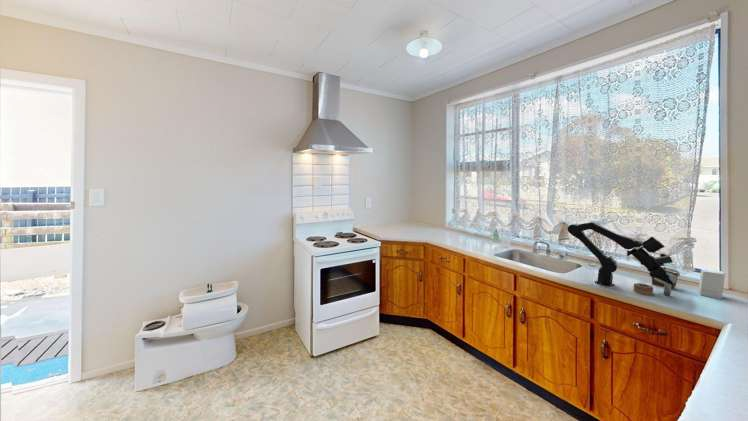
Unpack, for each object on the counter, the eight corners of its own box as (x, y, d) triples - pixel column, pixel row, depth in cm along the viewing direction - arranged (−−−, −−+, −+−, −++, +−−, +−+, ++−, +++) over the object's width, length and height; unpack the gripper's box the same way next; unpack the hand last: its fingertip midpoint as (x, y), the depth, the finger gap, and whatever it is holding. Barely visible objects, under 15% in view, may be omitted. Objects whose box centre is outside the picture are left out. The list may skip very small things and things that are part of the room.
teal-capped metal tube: (667, 296, 146) (670, 275, 145) (662, 294, 148) (664, 273, 147) (671, 296, 146) (673, 274, 145) (666, 294, 149) (668, 273, 148)
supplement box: (722, 299, 143) (725, 274, 142) (700, 295, 148) (702, 271, 147) (719, 295, 148) (722, 271, 147) (698, 291, 154) (700, 268, 152)
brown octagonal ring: (644, 294, 148) (645, 288, 148) (630, 289, 155) (630, 283, 154) (655, 294, 149) (656, 287, 149) (641, 289, 156) (641, 282, 156)
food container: (683, 289, 156) (685, 271, 155) (677, 291, 154) (679, 272, 153) (654, 282, 167) (656, 265, 167) (648, 283, 165) (650, 266, 164)
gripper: (661, 252, 141) (692, 279, 135) (659, 246, 155) (687, 270, 148) (638, 264, 147) (666, 291, 141) (638, 258, 161) (664, 282, 154)
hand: (672, 283), depth 146 cm, fingers closed on teal-capped metal tube, 2 cm apart
